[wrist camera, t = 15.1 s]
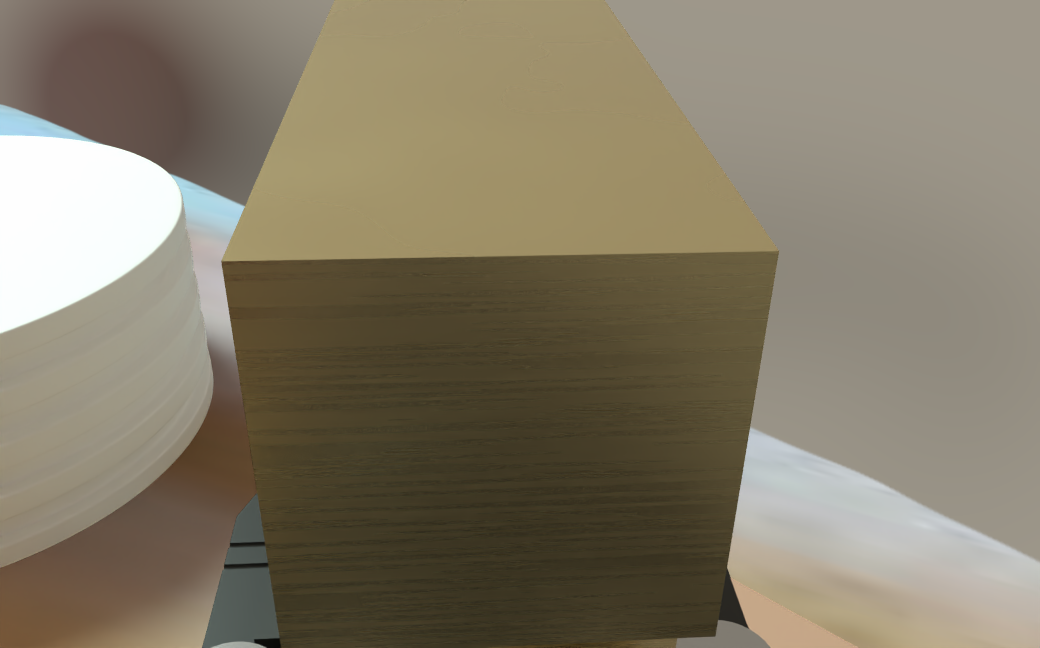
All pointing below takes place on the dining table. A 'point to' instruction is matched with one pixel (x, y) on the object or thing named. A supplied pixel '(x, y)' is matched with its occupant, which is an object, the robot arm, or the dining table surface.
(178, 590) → the dining table surface
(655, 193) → the t key
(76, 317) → the plate stack
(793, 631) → the tile
